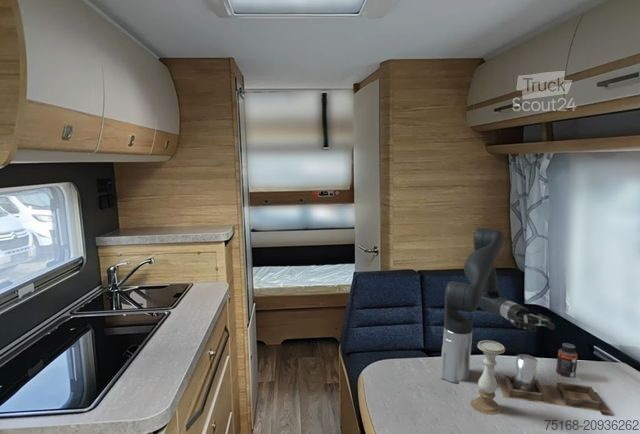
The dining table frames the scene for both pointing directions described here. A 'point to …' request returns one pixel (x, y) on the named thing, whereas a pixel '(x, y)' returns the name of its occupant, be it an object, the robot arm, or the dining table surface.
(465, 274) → the robot arm
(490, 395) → the candle holder
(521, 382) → the can
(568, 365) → the supplement bottle
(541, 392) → the wooden divided tray
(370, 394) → the dining table surface
